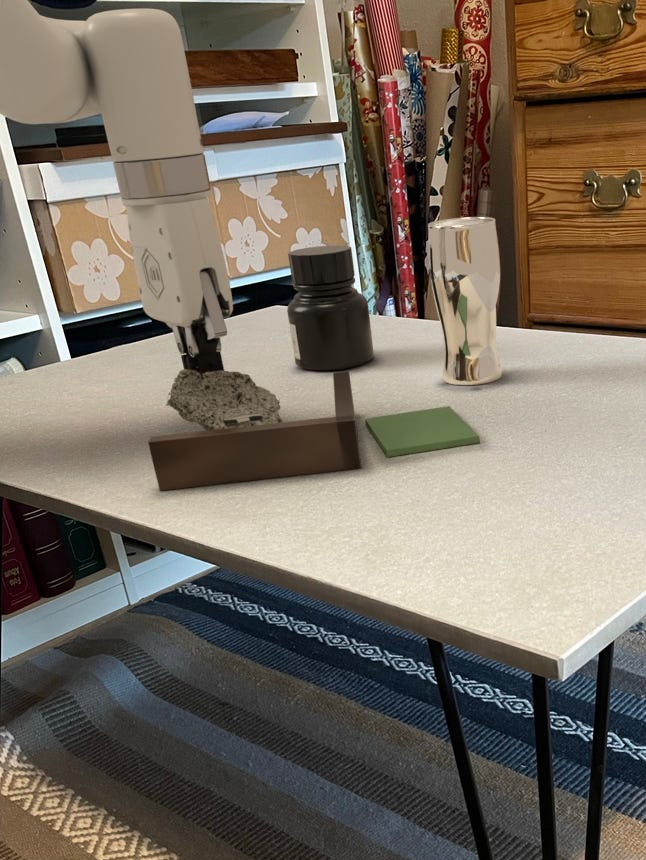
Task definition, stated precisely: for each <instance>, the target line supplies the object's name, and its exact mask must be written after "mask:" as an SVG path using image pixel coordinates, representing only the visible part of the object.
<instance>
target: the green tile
mask: <svg viewBox="0 0 646 860" xmlns="http://www.w3.org/2000/svg"><path fill="white" fill-rule="evenodd" d="M364 424H365V426H366V428H367V429H368V430H369V432H370V433H371V435H372V437H373V438H374V440H375V441H376V442H377V444H378V445H379V447H380V448H381V450H382V452H383V453H384V454H385V456H386V457H387V458H391V457H398V456H404V455H409V454H416V453H417V454H418V453H423V452H429V451H436V450H442V449H449V448H454V447H461V446H467V445H473V444H480V443H481V440H480V439H481V438H480V435H479V434H478V433H477V432H476V431H475V430H474V429H473V428H472V427H471V426H470V424H468V423H467V422H466V421H465V420H464V419H463V418H462V417H461V416H460V415H459V414H458V413H457V412H456V411H455V410H454V409H453V408H452V407H451V406H450V405H448V406H447V405H446V406H440V407H434V408H426V409H420V410H414V411H408V412H407V411H406V412H400V413H395V414H394V413H393V414H387V415H380V416H379V415H378V416H373V417H366V418H364Z"/></svg>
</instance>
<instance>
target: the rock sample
mask: <svg viewBox="0 0 646 860" xmlns="http://www.w3.org/2000/svg"><path fill="white" fill-rule="evenodd" d="M185 365H186V364H185ZM197 368H198V367H197ZM173 381H174V382H173V383H172V386H171V389H170V392H169V393H168V394H167V397H169V395H170V398H169V399H167V401H166V404H165V407H170V408H172V409H173V410H174V411H176V412H177V413H178V415H179V416H180V417H181V418H182V419H183V420H185V421H188V422H189V423H195V424H198V425H200V426H201V427H202V428H203V429H204V431H208V430H217V429H226V428H235V427H245V426H254V425H263V424H273V423H282V419H281V415H280V413H279V411H280V410H281V408H282V406H281V404H280V403H281V399H280V398H279V399H277V396H276V394H275V393H273V392H271V391H270V390H268V389H266V388H264V387H262V386H257V385H256V382H255V381H254V380H253V378H252V377H251V376H250V374H246V373H242V372H240V371H229V370H224V371H223V370H220V371H213V372H206V373H199V372H197V371H195V370H187V369H184V368H183V369H182V370H180V371H179V372H178V374H177V375H176V377H175V378H174V380H173Z"/></svg>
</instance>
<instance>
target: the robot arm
mask: <svg viewBox="0 0 646 860" xmlns="http://www.w3.org/2000/svg"><path fill="white" fill-rule="evenodd" d="M0 115H2V116H3V117H5V118H7V119H9V120H11V121H14V122H18V123H20V124H25V125H26V124H27V125H39V124H40V125H43V124H51V125H52V124H53V125H54V124H63V123H70V122H74V121H77V120H81V119H85V118H89V117H92V116H97V115H101V119H102V122H103V126H104V130H105V134H106V140H107V144H108V148H109V152H110V155H111V160H112V162H113V163H112V165H113V170H114V173H115V178H116V182H117V186H118V190H119V195H120V198H121V203H122V206H124V207H125V206H126V219H127V228H128V236H129V243H130V249H131V254H132V259H133V264H134V269H135V270H134V271H135V276H136V280H137V286H138V290H139V295H140V301H141V304H142V309H143V311H144V313H145V314H146V315H147V316H148V317H150V318H152V319H153V320H157V321H159V322H163V323H165V324H166V325H167V327H169V328H170V329H171V330H172V332H173V337H174V340H175V343H176V347H177V350H178V352H179V353H180V358H181V362H182V366H183V369H187V370H195V371H197V372H199V373H206V372H213V371H220V370H223V371H225V367H224V363H223V358H222V353H221V352H222V342H221V338H222V337H226V336H227V335H228V329H227V325H226V322H225V319H228V318H230V316H231V315H232V313H233V311H234V303H233V296H232V295H233V294H232V288H231V283H230V278H229V274H228V268H227V264H226V259H225V255H224V251H223V247H222V244H221V240H220V236H219V232H218V227H217V225H216V221H215V218H214V214H213V211H212V208H211V204H210V201H209V198H211V197H213V193H212V189H211V188H212V187H211V186H212V185H211V181H210V177H209V172H208V166H207V160H206V155H205V154H204V153H205V150H204V145H203V140H202V135H201V130H200V126H199V120H198V115H197V108H196V104H195V99H194V93H193V88H192V83H191V78H190V73H189V67H188V61H187V58H186V52H185V45H184V42H183V36H182V33H181V30H180V26H179V23H178V22H177V20H176V19H175V18H174V16H173V15H172V14H170V13H169V12H167V11H165V10H162V9H157V8H142V7H141V8H124V9H123V8H122V9H112V10H106V11H101V12H97V13H93V14H92V15H91V16H89V17H87V19H86V20H68V19H57V18H52V17H47V16H44V15H41V14H40V13H39V12H38V11H37V10H36V9H35V8H34V6H33V5H32V4H31V2H30V1H29V0H0ZM185 364H186V365H185ZM197 367H198V368H197Z"/></svg>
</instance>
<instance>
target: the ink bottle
mask: <svg viewBox="0 0 646 860" xmlns="http://www.w3.org/2000/svg"><path fill="white" fill-rule="evenodd" d="M287 256H288V262H289V268H290V269H289V270H290V275H291V282H292V283H293V284H292V287H293V289H294V290H296V291H298V292H297V293H296V294H295V295H294V296H293V299H292V300H291V301H290V302H289V303H288V305H287V309H286V311H287V320H288V325H289V332H290V338H291V344H292V350H293V355H294V356H293V358H294V362H295V365H296V366H297V367H299V368H301V369H303V370H311V371H337V370H343V369H350V368H353V367H357V366H360V365H362V364H365V363H368V362H369V361H371V360H372V359H373V358H374V355H375V353H374V352H375V351H374V344H373V335H372V326H371V319H370V311H369V303H368V300H367V298H366V297H365V296H364V295H363V294H362V293H360V292H359V291H358V289H356V288H355V287H352V286H353V285H354V284H355V282H356V278H355V273H356V272H355V267H354V260H353V259H354V258H353V251H352V246H348V245H340V244H339V245H320V246H318V245H317V246H312V247H311V246H310V247H305V248H304V247H303V248H299V249H294V250H292V251H289V252H288V253H287Z"/></svg>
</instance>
